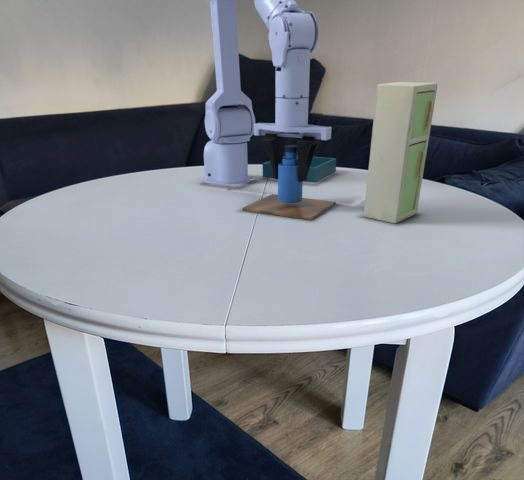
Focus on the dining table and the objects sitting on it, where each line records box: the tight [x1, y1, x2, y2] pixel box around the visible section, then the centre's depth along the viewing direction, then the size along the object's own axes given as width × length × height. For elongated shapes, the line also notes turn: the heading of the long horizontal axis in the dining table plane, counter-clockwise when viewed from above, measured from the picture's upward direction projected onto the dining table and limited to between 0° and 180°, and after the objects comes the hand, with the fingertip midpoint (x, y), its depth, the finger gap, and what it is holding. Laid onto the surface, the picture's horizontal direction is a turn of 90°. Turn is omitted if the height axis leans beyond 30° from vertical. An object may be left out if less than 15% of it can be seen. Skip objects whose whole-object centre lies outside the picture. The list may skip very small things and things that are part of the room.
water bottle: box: [277, 144, 304, 203], centre depth 90 cm, size 5×5×10 cm
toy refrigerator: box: [363, 81, 438, 224], centre depth 82 cm, size 8×7×21 cm
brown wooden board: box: [242, 193, 336, 221], centre depth 93 cm, size 14×12×1 cm
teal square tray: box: [262, 154, 337, 183], centre depth 115 cm, size 13×13×4 cm
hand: (290, 179), depth 90 cm, fingers closed on water bottle, 4 cm apart
